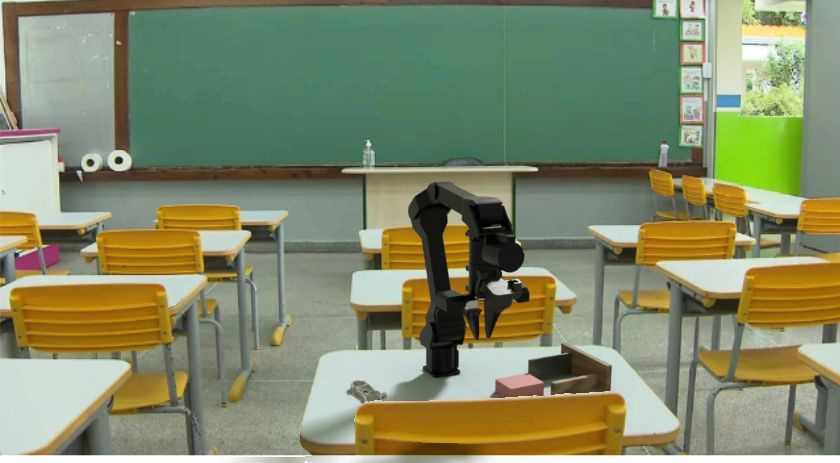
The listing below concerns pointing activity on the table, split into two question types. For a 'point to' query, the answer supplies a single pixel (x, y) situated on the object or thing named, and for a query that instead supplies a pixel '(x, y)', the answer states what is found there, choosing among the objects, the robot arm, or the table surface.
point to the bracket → (363, 386)
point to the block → (519, 386)
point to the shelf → (572, 371)
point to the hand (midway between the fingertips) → (482, 338)
